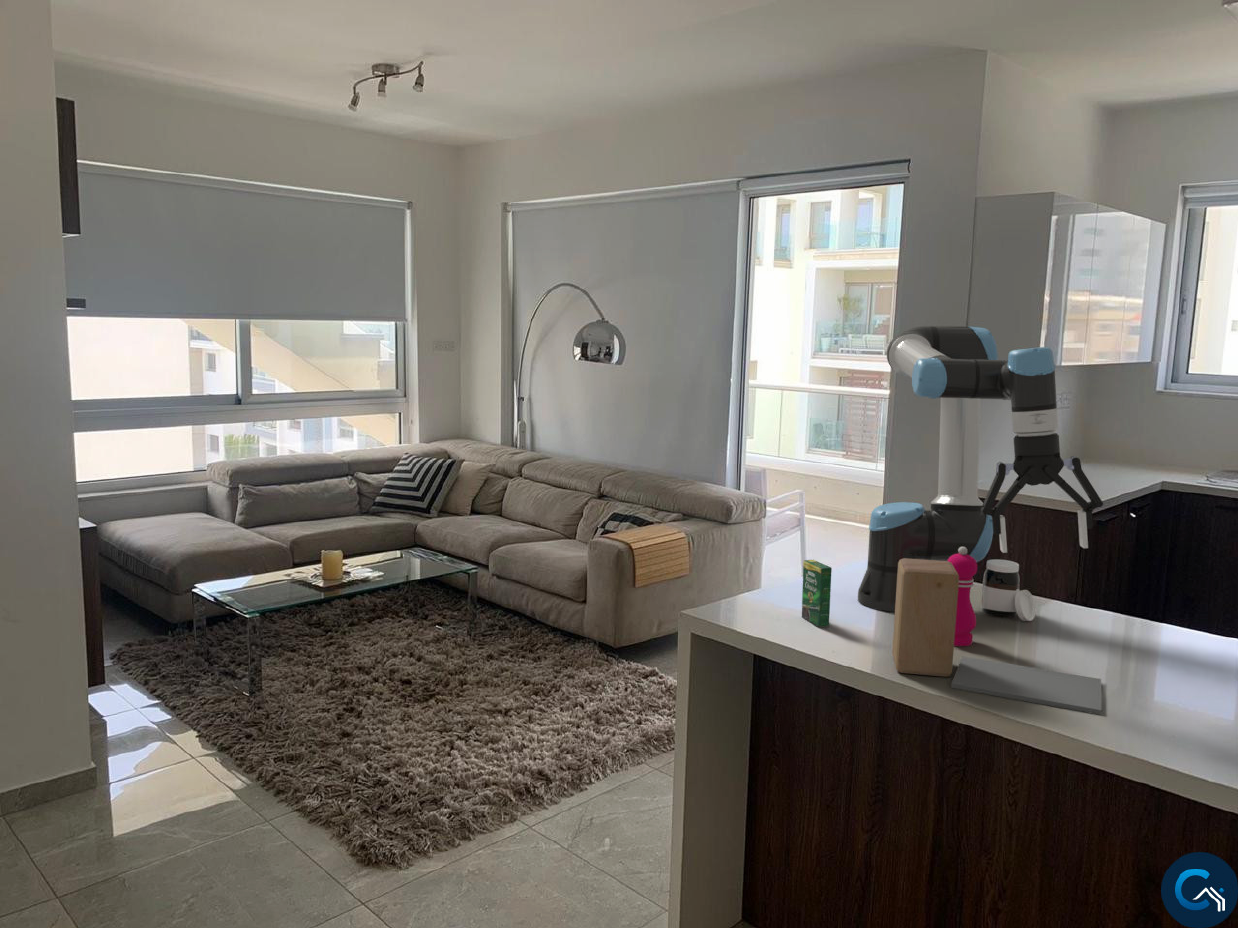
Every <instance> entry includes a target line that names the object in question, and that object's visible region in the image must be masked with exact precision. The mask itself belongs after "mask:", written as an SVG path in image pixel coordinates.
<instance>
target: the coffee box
mask: <svg viewBox="0 0 1238 928" xmlns="http://www.w3.org/2000/svg"><path fill="white" fill-rule="evenodd" d="M802 561H803V562H802V565H803V568H802V593H801V595H802V598H801V601H802V602H801V617H802V618H803V619H804V620H806V621H808V622H810V623H811V624H813V626H815V627H817V628H828V627H829V626H830V611H831V610H830V609H831V588H832V567H831V566H828V565H826V564H824V563H822V562H819V561H817V560H816V559H805V560H802Z"/></svg>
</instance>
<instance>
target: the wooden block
mask: <svg viewBox="0 0 1238 928" xmlns="http://www.w3.org/2000/svg"><path fill="white" fill-rule="evenodd" d="M958 586H959V576H958V573H957V572H956V570H955V568H954V566H953V565H952V563H951V562H948V561H938V560H923V559H907V558H903V559H900V560H899V562H898V573H897V588H896V604H895V612H894V618H893V619H894V621H893V635H892V638H893V639H892V652H891V653H892V657H893V661H894V666H895V669H896V671H897V672H898V673H900V674H908V675H909V674H911V675H922V676H931V677H943V678H947V677H950V676H951V674H952V673H953V663H954V662H953V661H954V650H955V646H954V638H955V625H956V612H957V599H958Z"/></svg>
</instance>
